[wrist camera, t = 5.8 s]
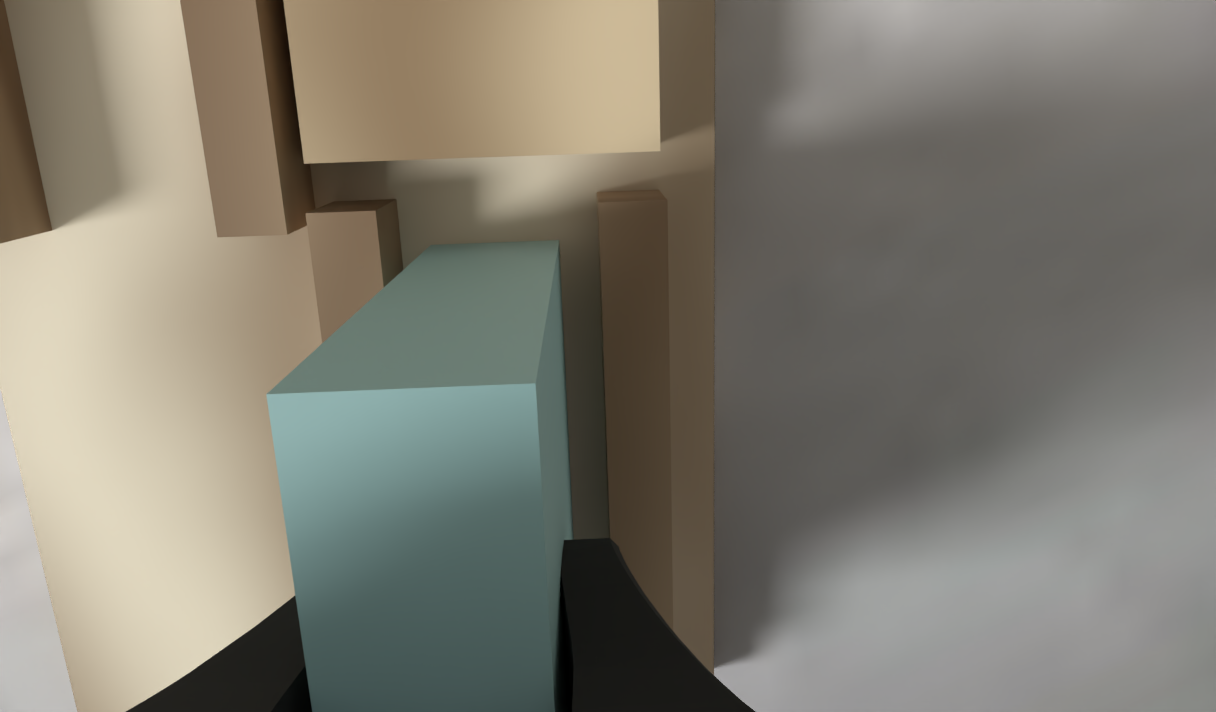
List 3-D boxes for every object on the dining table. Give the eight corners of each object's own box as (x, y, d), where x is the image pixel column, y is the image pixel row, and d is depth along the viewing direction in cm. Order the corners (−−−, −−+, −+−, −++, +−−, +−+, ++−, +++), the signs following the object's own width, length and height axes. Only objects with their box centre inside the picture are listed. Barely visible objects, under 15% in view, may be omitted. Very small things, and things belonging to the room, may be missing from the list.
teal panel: (559, 239, 14) (535, 382, 7) (580, 681, 16) (580, 1152, 9) (431, 245, 14) (266, 393, 7) (469, 686, 16) (377, 1165, 9)
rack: (705, -474, 13) (734, -608, 10) (707, 671, 18) (726, 760, 16) (-151, -456, 12) (-326, -588, 10) (110, 699, 18) (36, 793, 15)
